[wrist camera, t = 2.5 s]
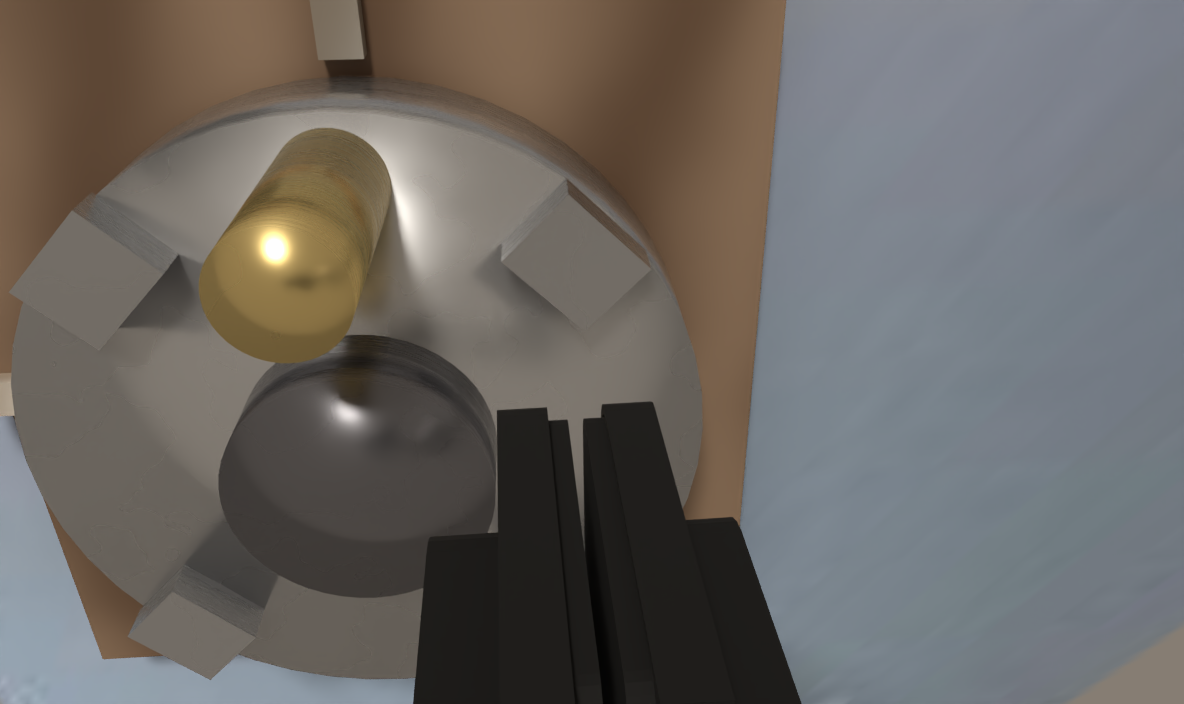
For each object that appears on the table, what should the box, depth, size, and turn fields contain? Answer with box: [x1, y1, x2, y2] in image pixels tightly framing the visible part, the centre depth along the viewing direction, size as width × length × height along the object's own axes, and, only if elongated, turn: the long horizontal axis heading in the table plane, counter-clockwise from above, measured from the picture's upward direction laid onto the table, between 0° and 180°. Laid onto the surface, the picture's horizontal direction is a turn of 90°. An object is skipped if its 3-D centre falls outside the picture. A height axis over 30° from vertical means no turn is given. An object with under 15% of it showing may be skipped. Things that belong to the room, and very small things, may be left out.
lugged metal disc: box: [9, 76, 703, 680], centre depth 22 cm, size 16×16×8 cm
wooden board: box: [0, 0, 786, 659], centre depth 26 cm, size 22×20×2 cm
